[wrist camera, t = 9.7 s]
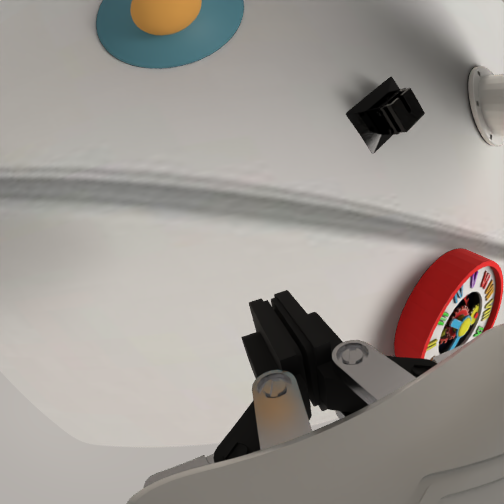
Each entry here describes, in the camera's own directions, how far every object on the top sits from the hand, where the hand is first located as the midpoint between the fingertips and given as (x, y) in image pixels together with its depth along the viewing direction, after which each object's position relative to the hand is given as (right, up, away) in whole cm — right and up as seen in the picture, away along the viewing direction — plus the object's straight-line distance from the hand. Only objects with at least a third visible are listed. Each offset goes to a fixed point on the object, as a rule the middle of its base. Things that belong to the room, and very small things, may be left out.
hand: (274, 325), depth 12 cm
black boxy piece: (+12, +17, +13) cm, 25 cm away
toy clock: (+27, -6, +24) cm, 37 cm away
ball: (-7, +22, +3) cm, 23 cm away
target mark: (-8, +24, +5) cm, 26 cm away
